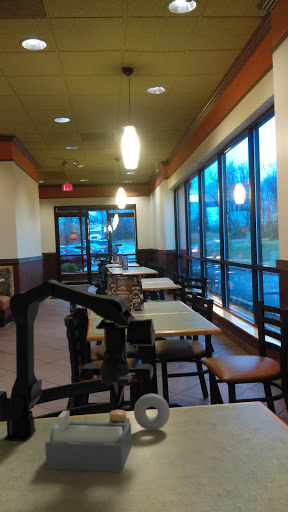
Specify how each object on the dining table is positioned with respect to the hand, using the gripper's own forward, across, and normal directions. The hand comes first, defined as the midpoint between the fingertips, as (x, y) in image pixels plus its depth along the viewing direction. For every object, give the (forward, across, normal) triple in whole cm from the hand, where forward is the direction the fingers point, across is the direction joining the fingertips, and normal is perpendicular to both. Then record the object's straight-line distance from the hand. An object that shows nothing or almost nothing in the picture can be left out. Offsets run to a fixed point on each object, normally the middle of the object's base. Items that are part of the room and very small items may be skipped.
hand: (117, 404), depth 109 cm
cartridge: (+8, -6, -9) cm, 14 cm away
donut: (+10, +8, +7) cm, 14 cm away
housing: (+10, -5, -6) cm, 13 cm away
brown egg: (+8, 0, 0) cm, 8 cm away
